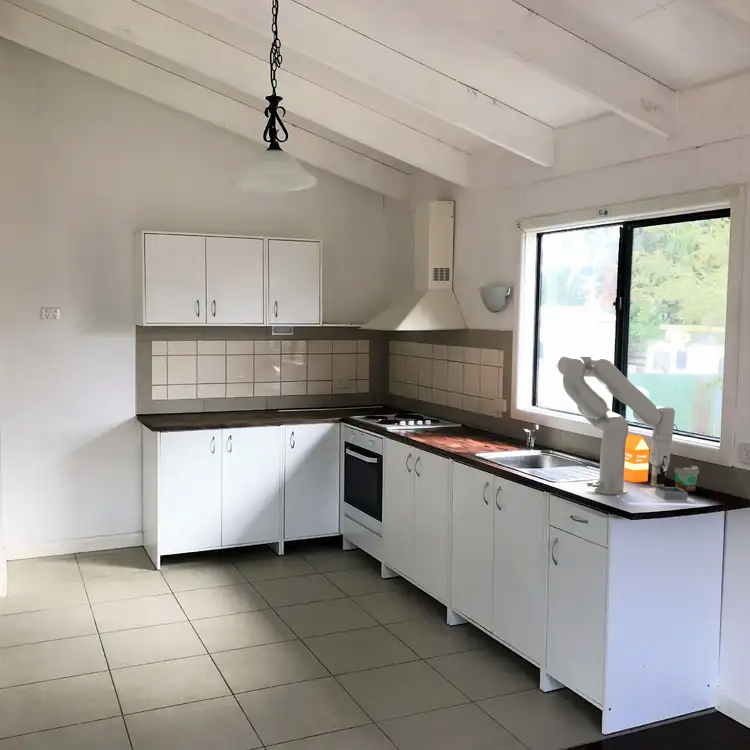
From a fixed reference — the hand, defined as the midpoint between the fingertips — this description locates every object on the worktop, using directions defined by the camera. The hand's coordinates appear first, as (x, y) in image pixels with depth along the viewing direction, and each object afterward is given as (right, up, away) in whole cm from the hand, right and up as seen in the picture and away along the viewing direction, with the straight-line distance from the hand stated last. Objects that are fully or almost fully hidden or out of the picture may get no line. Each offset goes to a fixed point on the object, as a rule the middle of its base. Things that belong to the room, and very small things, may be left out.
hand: (657, 481), depth 331 cm
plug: (0, -1, 0) cm, 1 cm away
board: (+1, -5, -6) cm, 8 cm away
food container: (+14, -5, +4) cm, 15 cm away
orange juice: (-3, -3, +22) cm, 23 cm away
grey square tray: (+2, -5, -11) cm, 12 cm away
